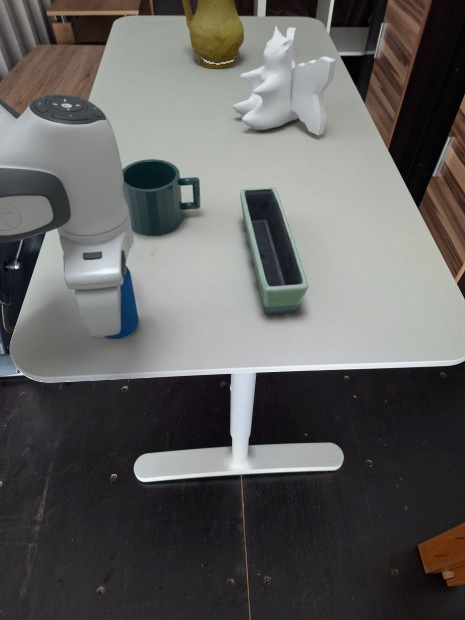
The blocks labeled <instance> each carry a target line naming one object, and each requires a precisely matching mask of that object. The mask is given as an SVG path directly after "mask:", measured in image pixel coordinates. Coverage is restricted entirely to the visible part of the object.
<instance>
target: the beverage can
mask: <svg viewBox="0 0 465 620" xmlns="http://www.w3.org/2000/svg"><path fill="white" fill-rule="evenodd" d="M132 279H133V278H132V273H131V270H130V269H129V267H128V266H127V265H126V266H125V274H124V281H123V284H122V285H121V286H120V289H121V330H120V333H118V334H116V335H110V336H102V337H103V338H105V339H109V340H123V339H125V338H127V337H130V336H131V335H133V334H134V333H135V332H136V330H137V329H138V327H139V325H140V318H139V312H138V307H137V302H136V295H135V290H134V285H133V280H132Z"/></svg>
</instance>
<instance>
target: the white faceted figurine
mask: <svg viewBox="0 0 465 620" xmlns="http://www.w3.org/2000/svg"><path fill="white" fill-rule="evenodd" d="M296 32H297V28H296V27H287V30H286V35H285V36H284V35H283V34H282V33H281V31H280V30H279V28H278V26H277V25H275V26H274V31H273V34H272V37H271V39H269V40H268V41H267V43H266V44H265V48H264V49H263V53H262V54H263V56H262V59H263V62H264V64H263V65H262V66H259V67H258V68H255V69H252V70H250V71H246V72H242V73H241V74H240V79H241V80H243V81H245V82H246V83H248V84H249V85H250V88H251V93H250V96H249V98H247V99H246V100H243V101H239V102H237V103H234V104H233V105H232V109H233V110H234V111H235V112H236V113H238V114H239V115H241V116H242V118H241V120H242V123H244V124H245V125H246V126H248V127H250V128H251V129H254V130H257V131H258V130H259V131H260V130H261V131H264V130H269V129H274V128H279V127H281V126H283V125H286V124H287V123H290V122H293V121H297V120H299V121H300V122H302V123H304V124H305V126H306V129H307V131H308V132H310V133H312V134H314V135H316V136H321V135H323V134H324V131H325V126H326V119H327V112H326V105H325V96H324V93H325V92H326V90H327V88H328V87H329V86H330V85H331V83H332V82H333V80H334V74H335V68H336V63H337V60H336V59H334V58H331V57H329V56H326V55H325V56H322V57H319V58H317V60H316V59H312V60H309V61H307V62H306V63H305V62H301V63H298V64H297V60H296V59H297V58H296V52H295V43H296V42H295V40H296Z"/></svg>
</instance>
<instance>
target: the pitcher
mask: <svg viewBox="0 0 465 620" xmlns="http://www.w3.org/2000/svg"><path fill="white" fill-rule="evenodd" d="M181 1H182V8H183V9H184V16H185V18H186V19H185V21H186V27H187V29H188V31H189V39H190V43H191V47H192V50H193V52H194V53H195V54H197V55H198V56H199V57H200V58H199V59H198V61H197V62H198V64H199V65H200V66H202V67H205V68H207V69H226V68H231V67H233V66H235V65H237V61H236V59H235V58H236V57H237V56H238V55H239V54H240V51H239V50H240V47H242V45H243V43H244V40H245V30H244V29H245V28H244V25H243V22H242V20H241V18H240V16H239V14H238V11H237V8H236V5H235V0H197V6H196V9H195V12H194V14H193V9H192V5H191V1H190V0H181ZM201 57H202V58H203V59H205V60H207V61H210V62H214V63H221V62H226V61H230V60H233V59H234V61H233V62H230V63H226V64H220V65H216V64H209V63H206V62H204V60H203V59H202V58H201Z"/></svg>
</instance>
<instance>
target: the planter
mask: <svg viewBox="0 0 465 620" xmlns="http://www.w3.org/2000/svg"><path fill="white" fill-rule="evenodd" d="M239 196H240V202H241V203H240V204H241V211H242V217H243V223H244V229H245V233H246V239H247V242H248V246H249V251H250V255H251V259H252V260H251V261H252V263H253V268H254V273H255V276H256V281H257V285H258V290H259V294H260V298H261V302H262V307H263V310H264V312H265V314H268V315H271V314H285V313H293V312H295V311H296V310H297V308H298V307H299V305H300V304H301V302H302V300H303V298H304V297H305V294H306V293H307V291H308V288H309V283H308V279H307V275H306V272H305V269H304V267H303V263H302V261H301V257H300V255H299V251H298V248H297V245H296V243H295V239H294V237H293V233H292V231H291V227H290V225H289V221H288V219H287V216H286V213H285V209H284V208H283V204H282V201H281V199H280V195H279V193H278V190H277V188H276V187H271V186H269V187H252V188H251V187H250V188H242V189H240V191H239Z"/></svg>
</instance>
